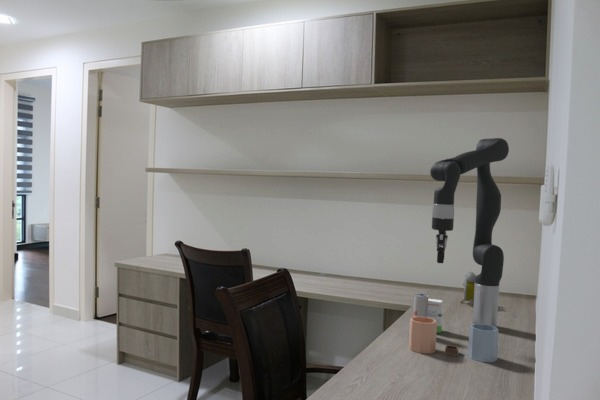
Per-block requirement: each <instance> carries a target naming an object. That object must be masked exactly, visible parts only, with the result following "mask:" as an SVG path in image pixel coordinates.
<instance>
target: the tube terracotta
mask: <svg viewBox="0 0 600 400" xmlns="http://www.w3.org/2000/svg"><path fill="white" fill-rule="evenodd" d="M436 330H437V321H436V320H435V319H432V318H428V317H418V316H415V317H413V316H412V317H410V318H409V333H408V335H409V336H408V337H409V338H408V349H409V350H410V351H411V350H412V352H414V351H415V353H418V354H427V353H430V354H432V353H435V352H436V348H437V347H436V345H437V343H436V342H437V333H436Z"/></svg>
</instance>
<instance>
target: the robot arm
mask: <svg viewBox="0 0 600 400" xmlns="http://www.w3.org/2000/svg"><path fill="white" fill-rule="evenodd" d="M509 151H510V147H509V144H508V142H507V140H506V139H504V138H501V137H493V138H492V137H491V138H482V139H480V140H478V142H477V144H476V148H475V150H470V151H466V152H463V153H461V154H457V155H456V156H454V157H450V158H445V159H442V160H438V161H436V162H434V164H433V165H431V167H430V171H429V172H430V176H431V178H432V179H433V180H434V181H437V182H444V183H443V185H442V187H437V188H435V190H434V193H433V207H432V215H431V218H432V219H431V229H432V230H434V231H438V234H436V236H435V240H436V243H435V245H436V252H437V255H436V256H437V257H436V262H437V264H444V260H445V252H446V251H445V250H446V248H447V245H448V244H447V242H448V239H449V237H448V234H447V232H451V231H454V221H455V220H454V219H455V206H454V205H455V193H456V190H457V187H458V183H459V181H460V177H461V175H464V174H466V173H468V172H471V171H472V170H474V169H476V177H477V178H476V179H477V180H476V181H477V182H476V203H475V205H476V207H475V208H476V209H475V210H476V211H475V213H476V214H475V230H474V240H473V247H472V258H473V261H474V262H475V263H476V264H477V265H478V266H481V271H480V273H479V274H477V275H476V274H475V275H476V277H475V287H474V301H473V306H472V308H473V310H472V324H487V325H491V326H495V327H496V328H498V315H499V313H498V312H499V297H500V284H501V283H500V282H501V280H502V277H503V270H504V262H505V261H504V260H505V258H504V257H505V256H504V255H505V254H504V251H503V249H502V247H500V246H498V245H496V244H492V241H493V240H492V239H493V236H492V235H493V231H494V228H495V225H496V223H497V221H498V220H499V217H500V214H501V210H502V209H501V207H502V193H501V191H500V189H499V187H498V186H497V183H496V182H495V180H494V178H493V175H492V173H491V163H494V162H501V161H504V160H505V159H506V158H507V156H509Z"/></svg>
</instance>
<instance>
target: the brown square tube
mask: <svg viewBox="0 0 600 400" xmlns="http://www.w3.org/2000/svg"><path fill="white" fill-rule="evenodd" d="M444 351H445V352H444V353H445V354H444V355H446V354H449V355H448V356H453V355H455V356H454V357H459V346H457V345H451V344H445V350H444Z"/></svg>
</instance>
